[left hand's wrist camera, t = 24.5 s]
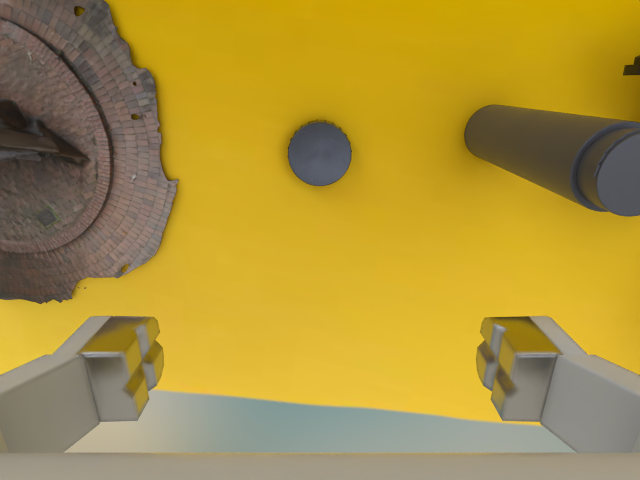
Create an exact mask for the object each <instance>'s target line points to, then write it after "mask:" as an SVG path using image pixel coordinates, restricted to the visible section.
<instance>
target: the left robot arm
mask: <svg viewBox="0 0 640 480" xmlns="http://www.w3.org/2000/svg"><path fill="white" fill-rule="evenodd" d="M159 333H160V330H159V325H158V321H157V320H156V319H155V318H154V317H134V316H93V317H89V318H88V319H87V320H86V321H85V322H84V323H83V324H82V325H81V326H80V327H79V328H78V329H77V330H76V331H75V332H74V333H73V334H72V335H71V336H70V337H69V338H68V339H67V340H66V341H65V342H64V343H63V344H62V345H61V346H60V347H59V348H58V349H57V350H56V351H55V352H54V353H53V354H52V355H44V356H42V357H39V358H37V359H35V360H33V361H31V362H28V363H26V364H24V365H22V366H19V367H17V368H15V369H13V370H11V371H8V372H6V373H4V374H2V375H0V480H640V375H638V374H636V373H634V372H632V371H629V370H627V369H625V368H623V367H620V366H618V365H616V364H614V363H612V362H609V361H607V360H605V359H603V358H601V357H598V356H596V355H588V354H587V353H586V352H585V351H584V350H583V349H582V348H581V347H580V346H579V345H578V344H577V343H576V342H575V341H574V340H573V339H572V338H571V337H570V336H569V335H568V334H567V333H566V332H565V331H564V330H563V329H562V328H561V327H560V326H559V325H558V324H557V323H556V322H555V321H554V320H553V319H552V318H550V317H548V316H525V317H488V318H484V320H483V322H482V324H481V330H480V333H481V334H482V336H483V338H484V339H485V340H484V341H483V342H482V343H481V344H480V345H479V346H478V348H477V355H476V364H477V371H478V375H479V378H480V380H481V382H482V384H483V386H485V387H486V388H488V389H489V390H491V391H492V395H491V401H492V402H493V404H494V406H495V408H496V410H497V411H498V413H499V415H500V417H501V419H502V421H530V422H540V424H541V425H543V426H544V427H545V428H547V429H548V430H549V431H550V432H552V433H553V434H554V435H555V436H557V437H558V438H559V439H560V440H562V441H563V442H564V443H566V444H567V445H568V446H569V447H571V448H572V449H573V450H574V451H576V452H577V453H63V452H64V451H66V450H67V449H68V448H70V447H71V446H72V445H73V444H75V443H76V442H77V441H78V440H80V439H81V438H82V437H84V436H85V435H86V434H87V433H89V432H90V431H91V430H92V429H94V428H95V427H96V426H97V425H99V423H100V422H109V421H137V420H138V419H139V417H140V415H141V413H142V411H143V410H144V408H145V406H146V404H147V402H148V400H149V395H148V391H149V390H151V389H152V388H154V387H155V386H157V384H158V382H159V380H160V378H161V375H162V370H163V366H164V354H163V348H162V346H161V345H160V344H159V343H158V342H157V341H156V340H155V339H156V338H157V336H158V334H159Z"/></svg>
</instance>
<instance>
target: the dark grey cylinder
mask: <svg viewBox="0 0 640 480" xmlns="http://www.w3.org/2000/svg"><path fill="white" fill-rule="evenodd" d="M465 143H466V145H467V147H468V149H469V150H470V152H471V153H472V154H474V155H475V156H477V157H479V158H481V159H484V160H486V161H488V162H490V163H492V164H494V165H496V166H499V167H501V168H503V169H505V170H507V171H509V172H511V173H514V174H516V175H518V176H520V177H522V178H524V179H526V180H529V181H531V182H533V183H535V184H537V185H539V186H541V187H544V188H546V189H548V190H550V191H552V192H554V193H556V194H559V195H561V196H563V197H565V198H567V199H569V200H571V201H574V202H576V203H578V204H580V205H582V206H584V207H586V208H589V209H591V210H594V211H600V212H608V211H609V212H612V213H614V214H617V215H620V216H638V215H640V123H639V122H633V121H625V120H617V119H609V118H600V117H592V116H584V115H576V114H568V113H560V112H552V111H544V110H535V109H527V108H519V107H511V106H503V105H489V106H486V107H483V108H481V109H480V110H478V111H477V112H476V113H474V115H473V116H472V117H471V118H470V120H469V121H468V123H467V126H466V129H465Z"/></svg>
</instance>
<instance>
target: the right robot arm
mask: <svg viewBox="0 0 640 480" xmlns="http://www.w3.org/2000/svg"><path fill="white" fill-rule="evenodd" d="M623 75H640V55H639V56H637V57H635V60H634V65H625V67H624V72H623Z"/></svg>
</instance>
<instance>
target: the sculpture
mask: <svg viewBox="0 0 640 480" xmlns="http://www.w3.org/2000/svg"><path fill="white" fill-rule="evenodd" d="M75 6H80V7H83V8H84V9H85V11H84V12H83V14H82V15H80V16H76V15H75V14H74V7H75ZM116 29H117V27H116V26H115V25H114V23H113V20H112V17H111V13H110V9H109V5H108V4H107V3H106V2H105V1H104V0H0V299H3V300H13V299H24V300H28V301H32V302H37V303H39V304H42V303H43V302H46V303H47V302H48V301H51V300H53V299H55V300H56V301H59V302H60V303H61V302H62V300H64V299H65V300H68V299H72V291H73V289H74V288H75V285H76V283H77V282H78V281H80V280H82V279H85V278H86V277H92V278H105V277H115V278H119V277H120V276H122V275H125V274H127V273H129V272H130V271H132V270H134V269H135V268H137V267H138V266H140V265H142V264H145V263H146V262H147V261H148V260H149V259H150V258H151V257H152V256H154V255H155V254H156V251H157V250H158V248H159V246H160V243H161V239H162V234H161V233H163V231H164V229H165V225H166V223H167V219H168V216H169V214H170V211H171V206H172V204H173V202H172V200H173V199H174V195H175V194H176V189H177V188H176V187H175V185H177V183H178V179H177V180H173V181H168V180H167V179H166V177H165V175H164V172H163V169H162V166H161V162H160V144H161V143H162V141H161V133H159V132H158V130H157V129H158V127H159V126H160V123H159V121H158V120H157V115H158V113H157V100H156V98H155V94H156V90H155V88H156V87H155V83H154V82H155V81H154V79H153V77H152V75H151V73H150V72H149V71H148V70H147V69H146V68H143V69H138V68H136V67H135V66H134V65H133V64H132V62H131V57H130V48H129V45H128V43H127V42H126V41H124V40H123V39H122V38H120V36H119V35H118V33H117V31H116ZM134 81H135V82H136V84H137V85H136V86H134V85H133V82H134ZM132 114H137V115H138V116H139V117H140V119H137V120H133V119H132V118H131V115H132ZM125 264H129V267H128V269H127V271H126V272H125V273H122V272H121V268H122V267H123V266H124V265H125ZM78 288H79V287H78ZM86 288H87V287H86ZM84 289H85V288H84Z"/></svg>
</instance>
